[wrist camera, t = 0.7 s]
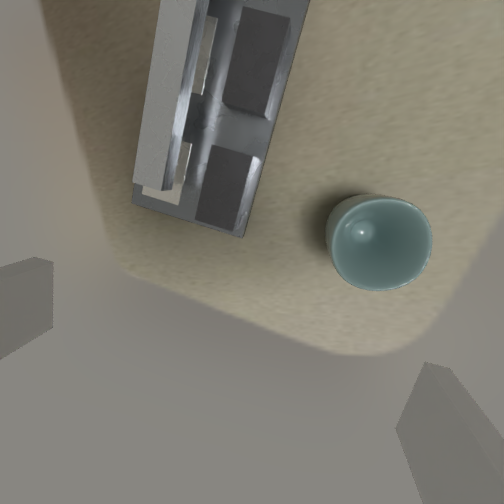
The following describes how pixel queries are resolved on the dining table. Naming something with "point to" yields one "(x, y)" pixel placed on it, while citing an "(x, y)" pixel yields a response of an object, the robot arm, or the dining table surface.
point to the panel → (231, 112)
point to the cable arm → (169, 91)
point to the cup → (378, 241)
